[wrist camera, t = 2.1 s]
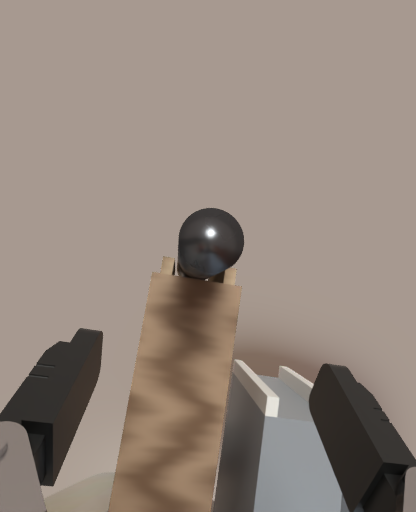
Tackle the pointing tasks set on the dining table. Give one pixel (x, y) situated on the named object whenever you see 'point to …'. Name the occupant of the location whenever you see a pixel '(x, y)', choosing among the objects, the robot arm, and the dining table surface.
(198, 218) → the black gold-banded rod
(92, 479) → the dining table surface
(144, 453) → the tall stand
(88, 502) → the dining table surface
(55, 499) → the dining table surface
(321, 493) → the grey magazine holder
